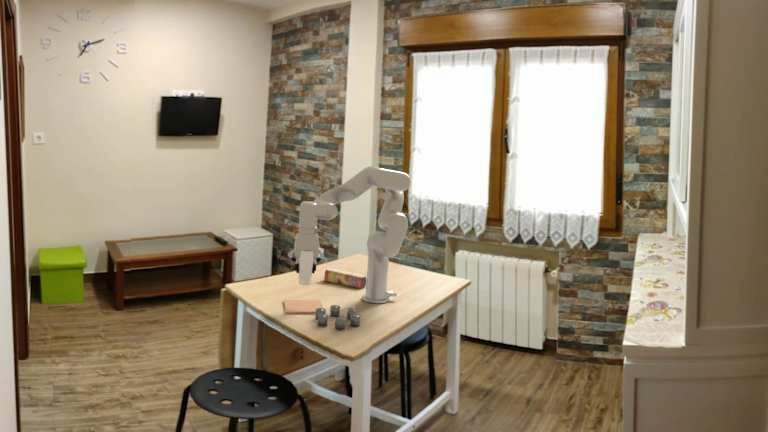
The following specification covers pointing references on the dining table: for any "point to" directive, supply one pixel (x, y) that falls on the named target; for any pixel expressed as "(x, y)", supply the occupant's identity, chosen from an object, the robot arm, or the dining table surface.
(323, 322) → the spacer posts
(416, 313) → the dining table surface
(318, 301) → the terracotta tile
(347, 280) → the snack package
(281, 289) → the dining table surface
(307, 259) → the drinking glass
